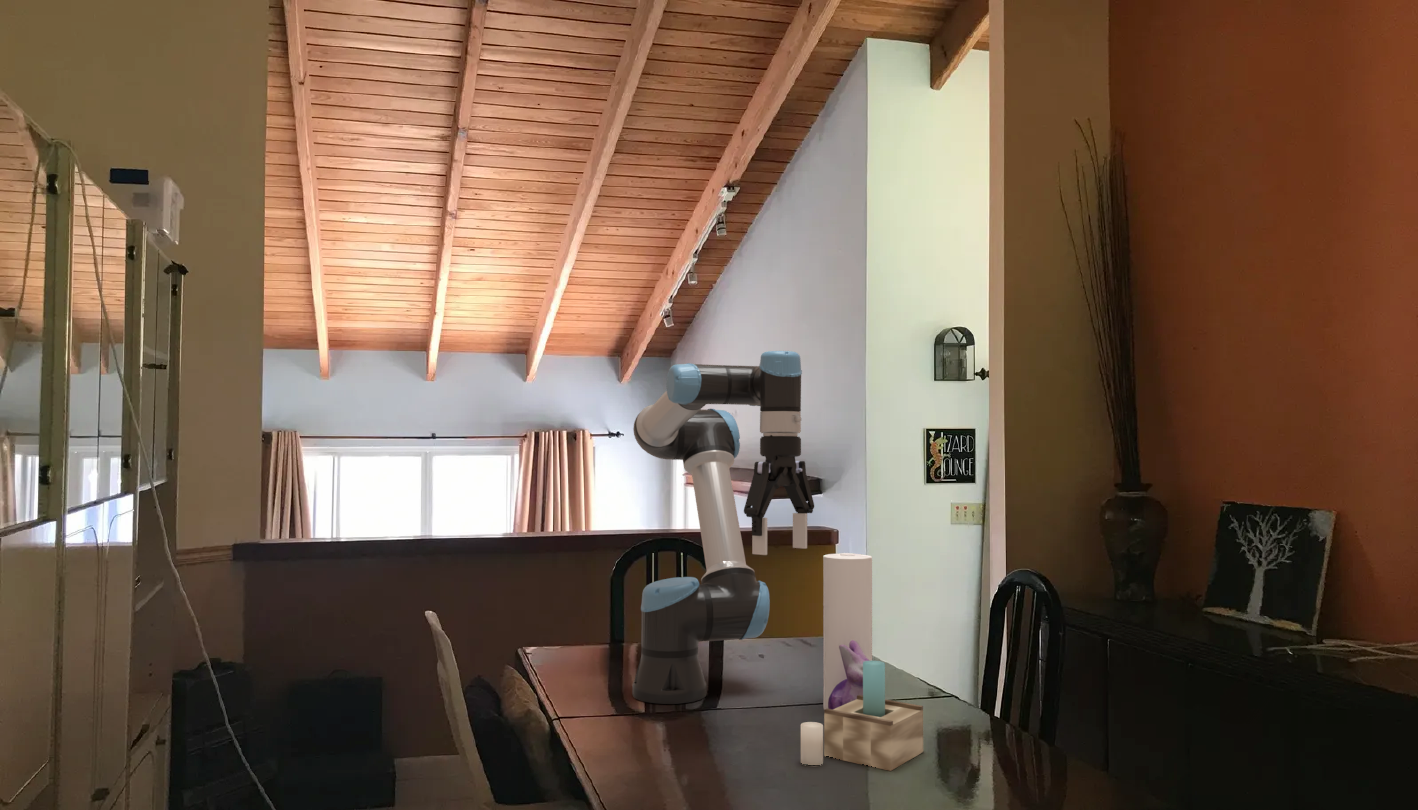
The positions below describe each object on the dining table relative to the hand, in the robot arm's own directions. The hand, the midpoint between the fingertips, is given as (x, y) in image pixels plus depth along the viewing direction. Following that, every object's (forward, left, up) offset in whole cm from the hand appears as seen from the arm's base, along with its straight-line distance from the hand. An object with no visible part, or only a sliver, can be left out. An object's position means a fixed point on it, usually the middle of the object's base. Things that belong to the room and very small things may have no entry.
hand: (780, 551), depth 180 cm
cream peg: (+15, -14, -32) cm, 38 cm away
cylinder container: (+4, +18, -32) cm, 37 cm away
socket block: (+21, -4, -32) cm, 38 cm away
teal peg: (+21, -4, -32) cm, 38 cm away
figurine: (+10, +10, -32) cm, 35 cm away
